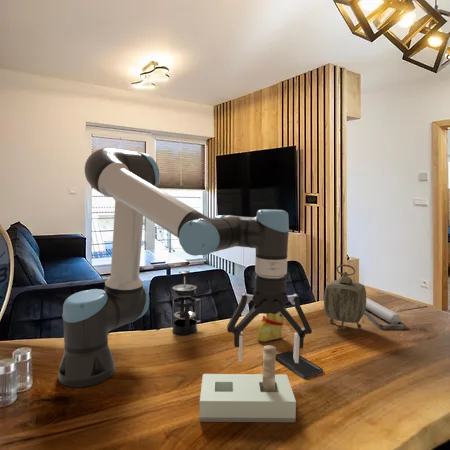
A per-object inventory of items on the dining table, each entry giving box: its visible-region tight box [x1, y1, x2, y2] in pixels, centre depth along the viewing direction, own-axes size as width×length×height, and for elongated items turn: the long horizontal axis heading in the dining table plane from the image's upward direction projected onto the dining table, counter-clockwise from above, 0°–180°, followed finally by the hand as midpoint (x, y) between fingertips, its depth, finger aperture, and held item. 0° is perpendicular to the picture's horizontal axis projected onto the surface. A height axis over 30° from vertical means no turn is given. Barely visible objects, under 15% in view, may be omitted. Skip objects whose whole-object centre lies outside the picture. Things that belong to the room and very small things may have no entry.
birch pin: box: [262, 344, 277, 392], centre depth 86 cm, size 3×3×14 cm
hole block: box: [199, 373, 297, 423], centre depth 87 cm, size 22×12×5 cm, turn 90°
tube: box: [365, 296, 402, 324], centre depth 151 cm, size 5×5×25 cm
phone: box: [276, 350, 324, 380], centre depth 108 cm, size 8×1×15 cm
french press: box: [171, 270, 203, 337], centre depth 133 cm, size 12×9×23 cm
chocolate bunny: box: [256, 312, 285, 343], centre depth 127 cm, size 7×11×15 cm, turn 113°
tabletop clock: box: [323, 264, 367, 331], centre depth 137 cm, size 14×9×25 cm, turn 58°
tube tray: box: [363, 309, 407, 330], centre depth 152 cm, size 10×30×2 cm, turn 0°
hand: (267, 360), depth 86 cm, fingers open, 13 cm apart
